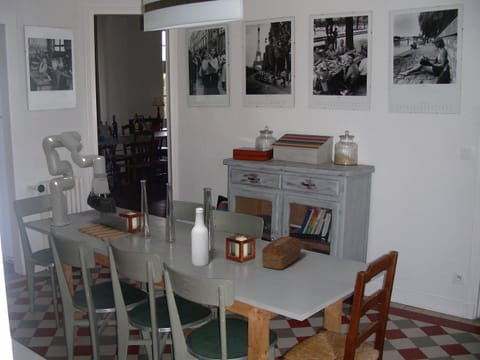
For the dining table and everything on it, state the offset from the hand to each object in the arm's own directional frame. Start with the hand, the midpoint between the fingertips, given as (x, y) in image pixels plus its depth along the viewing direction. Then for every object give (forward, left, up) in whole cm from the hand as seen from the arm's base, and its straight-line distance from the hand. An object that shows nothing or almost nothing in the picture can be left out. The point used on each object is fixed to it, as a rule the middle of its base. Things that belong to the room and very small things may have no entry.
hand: (100, 204), depth 342 cm
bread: (+117, +39, -19) cm, 125 cm away
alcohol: (+88, +6, -19) cm, 90 cm away
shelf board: (0, +1, -19) cm, 19 cm away
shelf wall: (0, +9, -17) cm, 19 cm away
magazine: (0, 0, -5) cm, 5 cm away
